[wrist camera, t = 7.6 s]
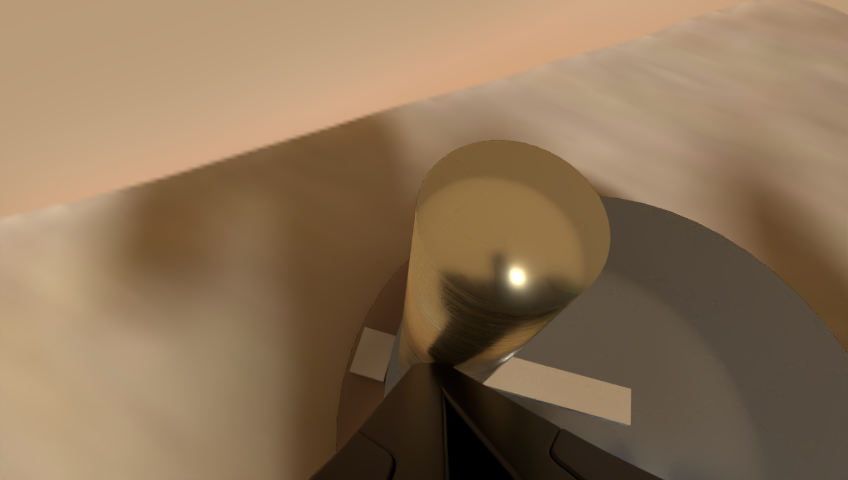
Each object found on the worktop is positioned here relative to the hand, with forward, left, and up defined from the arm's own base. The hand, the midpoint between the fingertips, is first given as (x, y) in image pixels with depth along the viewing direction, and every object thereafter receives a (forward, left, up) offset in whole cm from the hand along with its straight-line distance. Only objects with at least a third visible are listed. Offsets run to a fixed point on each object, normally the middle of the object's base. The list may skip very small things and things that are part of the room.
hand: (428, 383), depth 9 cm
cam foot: (-5, -5, -6) cm, 9 cm away
